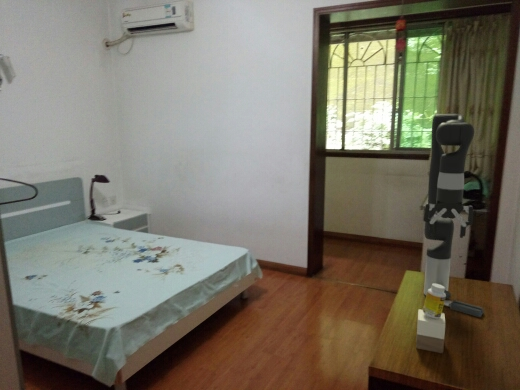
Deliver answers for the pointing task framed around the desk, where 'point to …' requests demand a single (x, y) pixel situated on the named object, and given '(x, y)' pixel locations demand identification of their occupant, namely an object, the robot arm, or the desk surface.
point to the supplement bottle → (434, 301)
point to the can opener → (463, 306)
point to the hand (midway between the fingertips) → (446, 236)
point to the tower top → (431, 325)
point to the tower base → (430, 343)
